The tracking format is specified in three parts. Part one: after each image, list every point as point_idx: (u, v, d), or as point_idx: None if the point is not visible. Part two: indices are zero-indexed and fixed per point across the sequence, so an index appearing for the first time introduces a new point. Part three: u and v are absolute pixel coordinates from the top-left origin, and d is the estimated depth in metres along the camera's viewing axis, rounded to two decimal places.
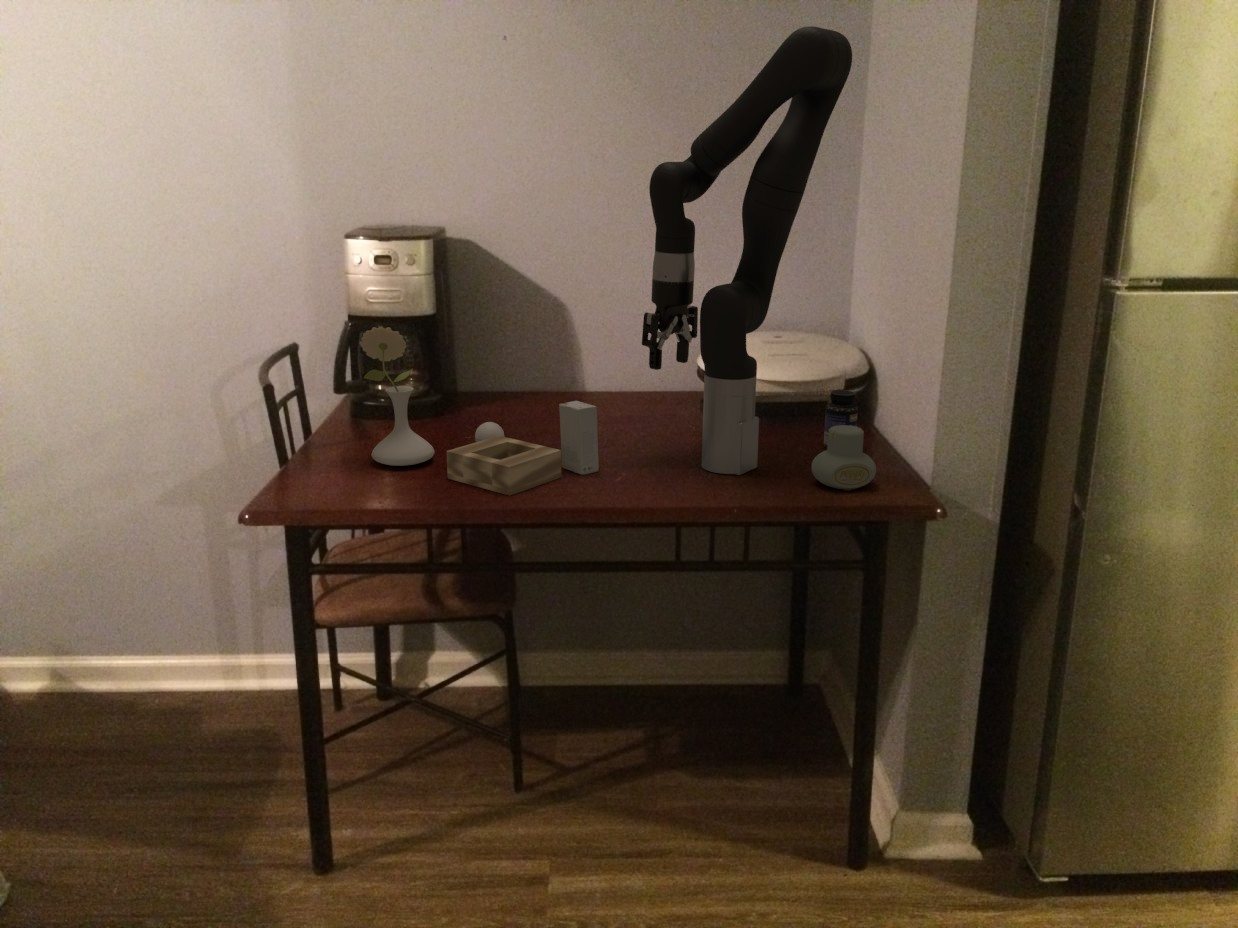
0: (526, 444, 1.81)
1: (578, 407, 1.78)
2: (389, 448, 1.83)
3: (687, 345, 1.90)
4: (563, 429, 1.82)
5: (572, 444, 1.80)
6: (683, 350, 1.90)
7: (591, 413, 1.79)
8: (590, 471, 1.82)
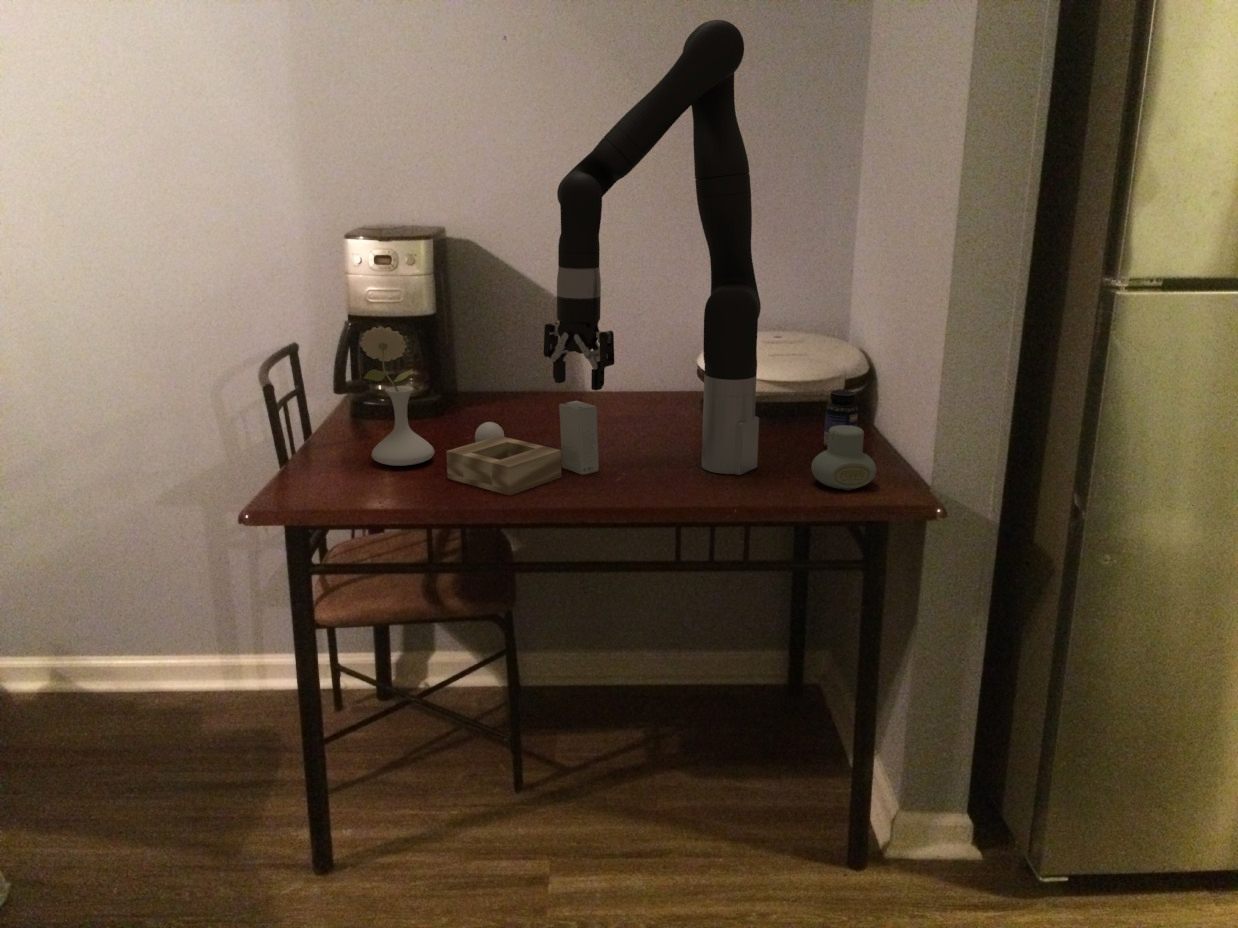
0: (526, 444, 1.81)
1: (578, 407, 1.78)
2: (389, 448, 1.83)
3: None
4: (563, 429, 1.82)
5: (572, 444, 1.80)
6: (563, 369, 1.81)
7: (591, 413, 1.79)
8: (590, 471, 1.82)
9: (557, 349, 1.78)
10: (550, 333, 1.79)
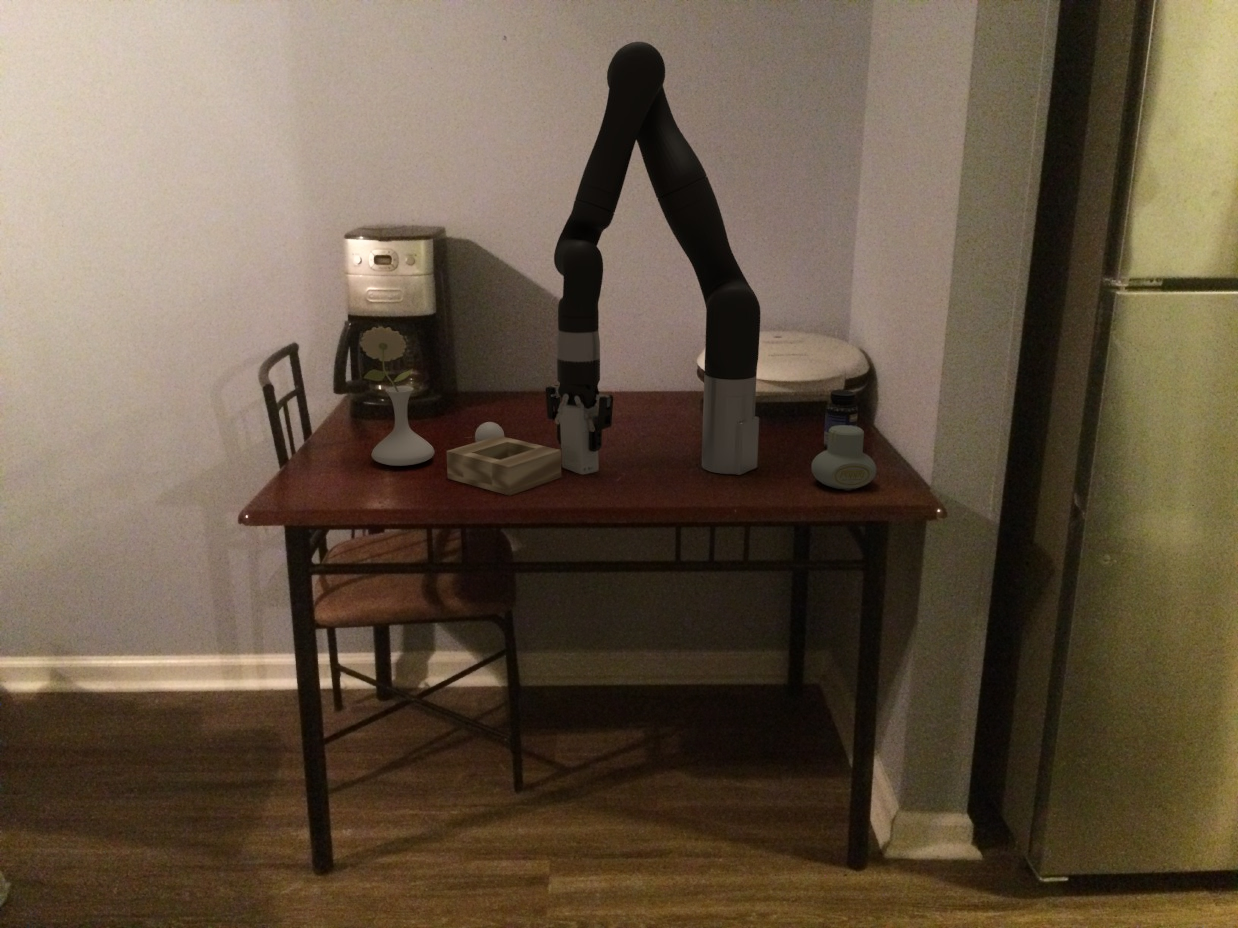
0: (526, 444, 1.81)
1: (578, 407, 1.78)
2: (389, 448, 1.83)
3: None
4: (563, 429, 1.82)
5: (572, 444, 1.80)
6: None
7: None
8: (590, 471, 1.82)
9: (560, 411, 1.81)
10: (551, 395, 1.82)
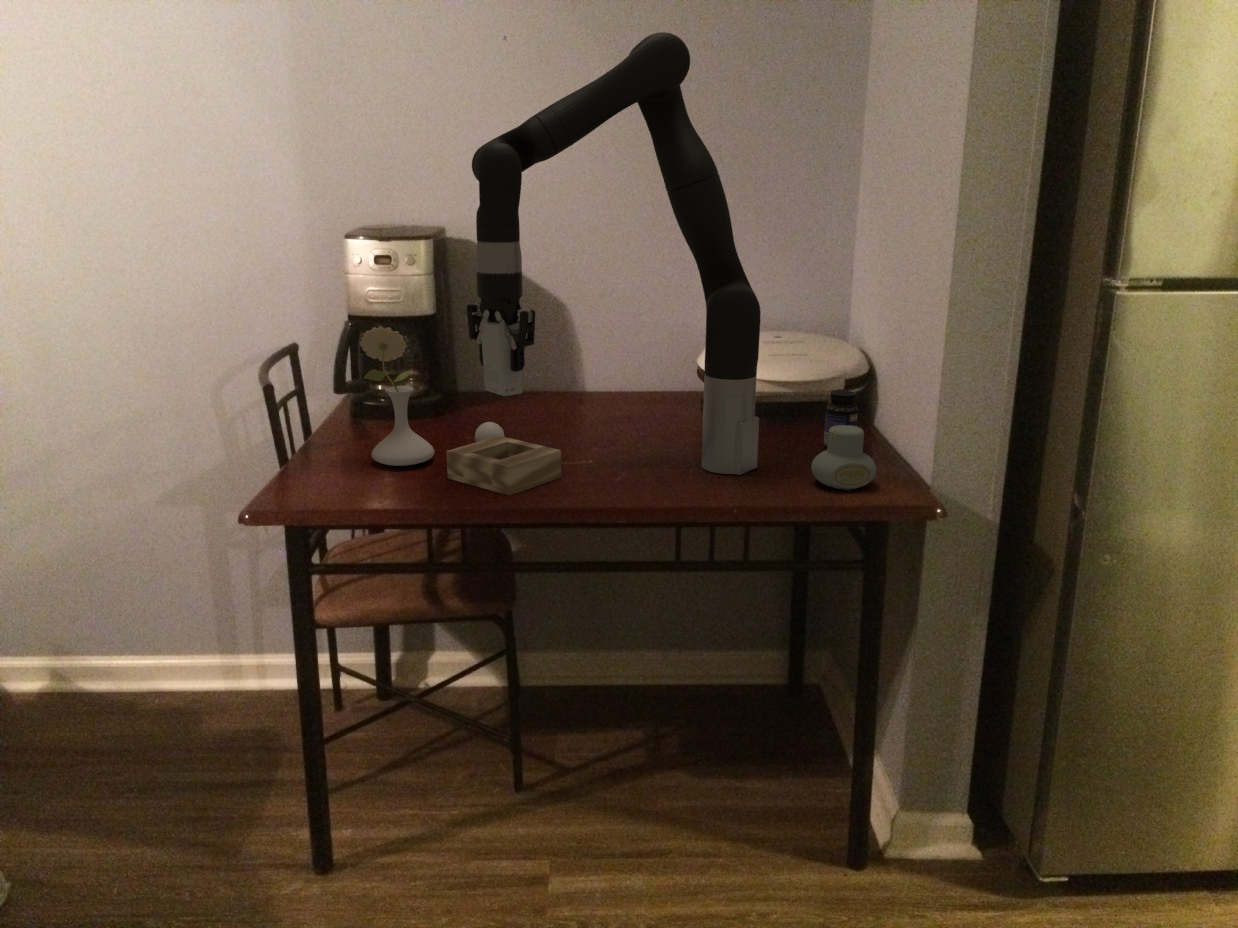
0: (526, 444, 1.81)
1: None
2: (389, 448, 1.83)
3: None
4: (485, 348, 1.72)
5: (494, 364, 1.71)
6: None
7: None
8: (513, 393, 1.72)
9: (481, 329, 1.72)
10: (473, 313, 1.73)
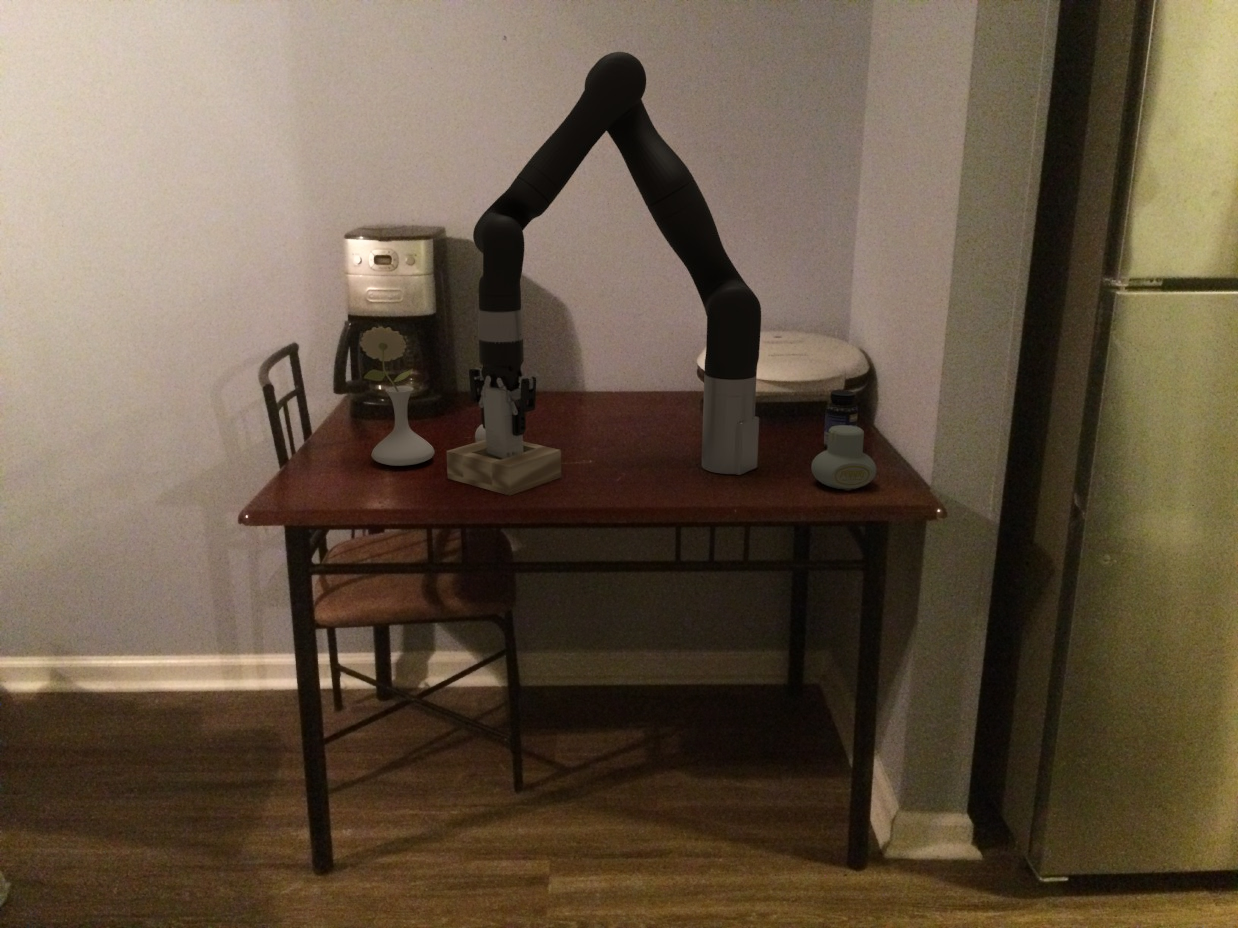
0: (526, 444, 1.81)
1: None
2: (389, 448, 1.83)
3: None
4: (486, 412, 1.76)
5: (495, 428, 1.74)
6: None
7: None
8: None
9: (483, 394, 1.75)
10: (475, 378, 1.76)
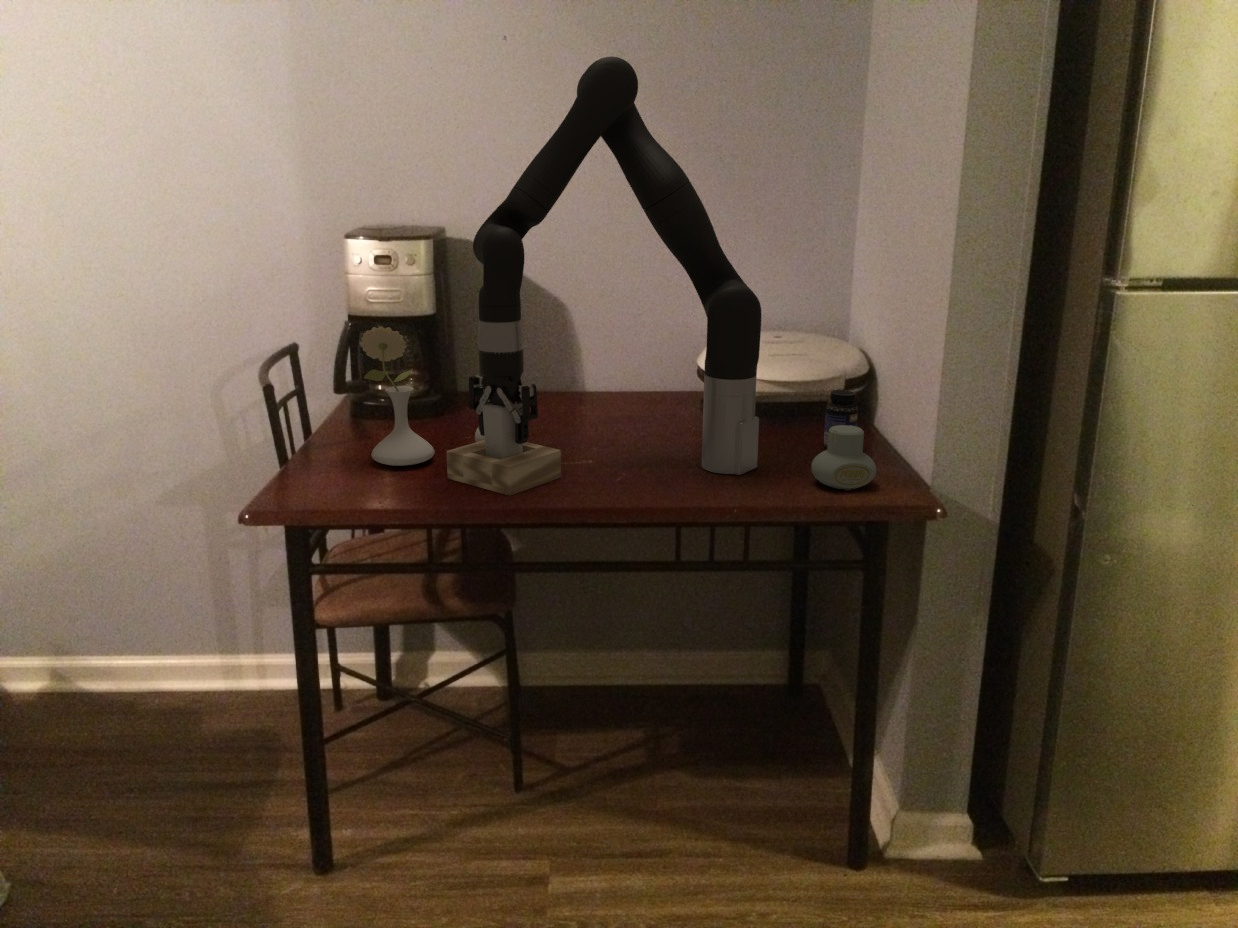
0: (526, 444, 1.81)
1: (501, 407, 1.73)
2: (389, 448, 1.83)
3: None
4: (487, 430, 1.77)
5: (496, 446, 1.75)
6: None
7: None
8: None
9: (481, 402, 1.76)
10: (474, 386, 1.77)
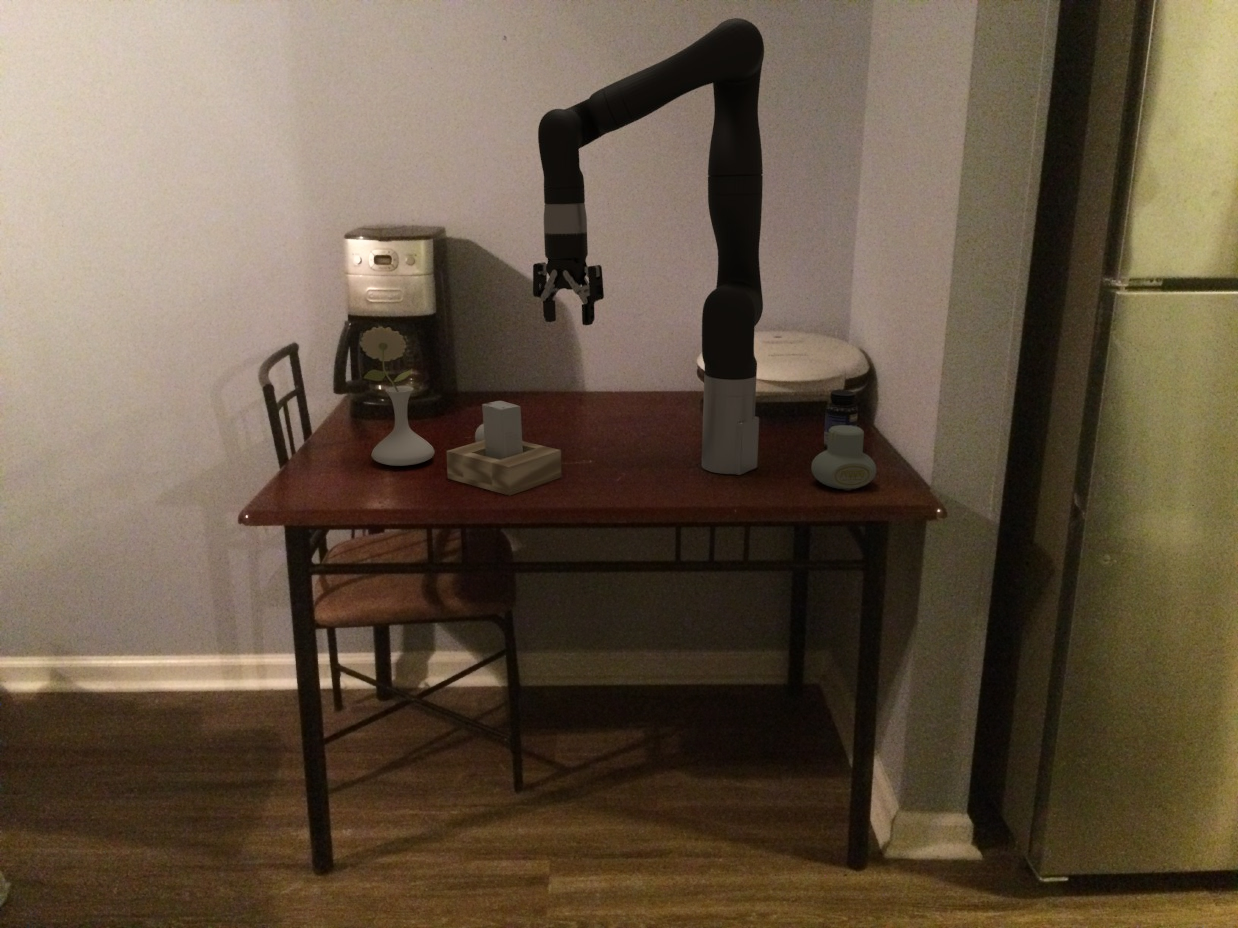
0: (526, 444, 1.81)
1: (501, 407, 1.73)
2: (389, 448, 1.83)
3: None
4: (486, 430, 1.77)
5: (496, 446, 1.75)
6: (553, 308, 1.84)
7: (515, 413, 1.74)
8: None
9: (546, 287, 1.81)
10: (539, 272, 1.82)
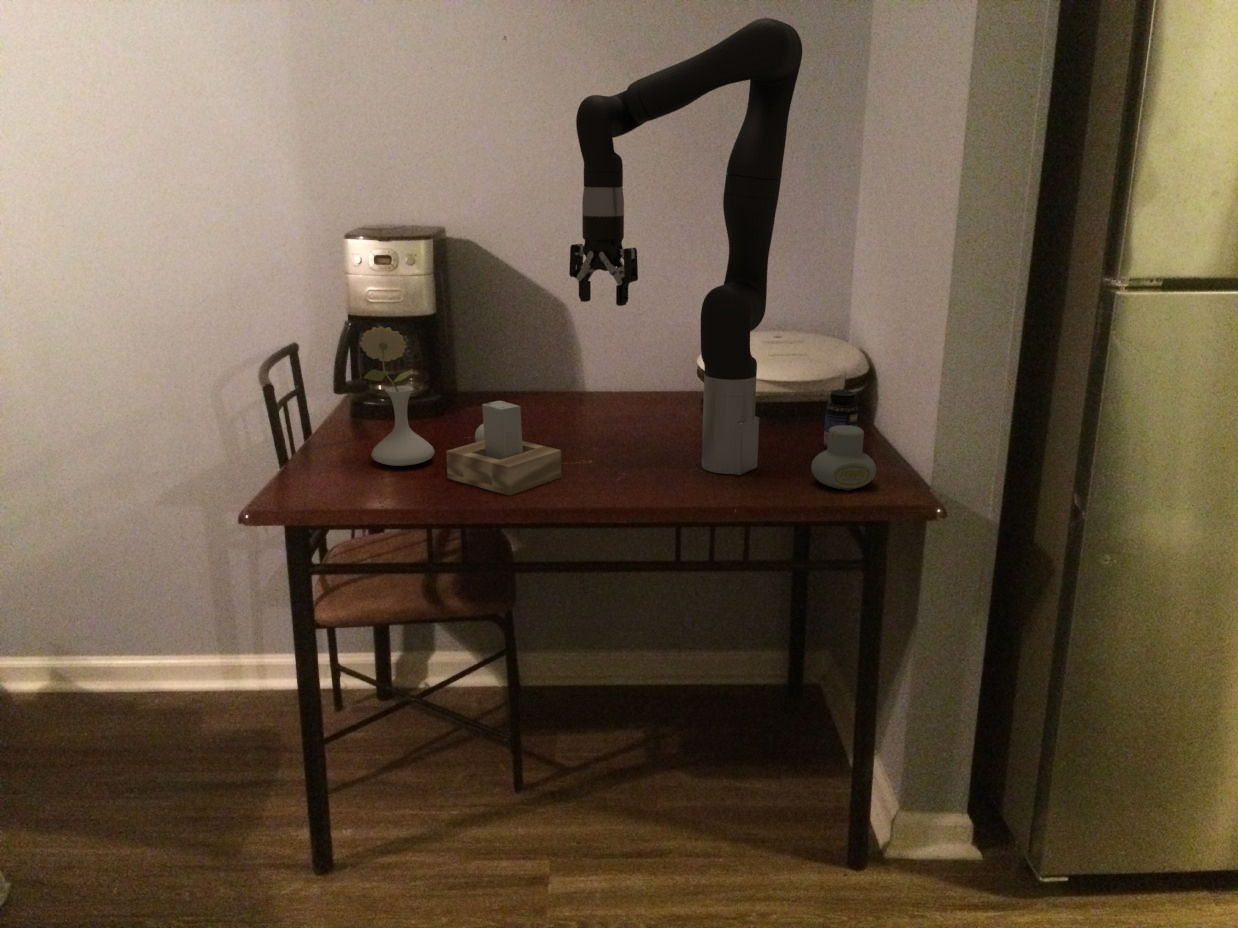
0: (526, 444, 1.81)
1: (501, 407, 1.73)
2: (389, 448, 1.83)
3: None
4: (487, 430, 1.77)
5: (496, 446, 1.75)
6: (588, 288, 1.90)
7: (515, 413, 1.74)
8: None
9: (583, 268, 1.87)
10: (576, 253, 1.88)
